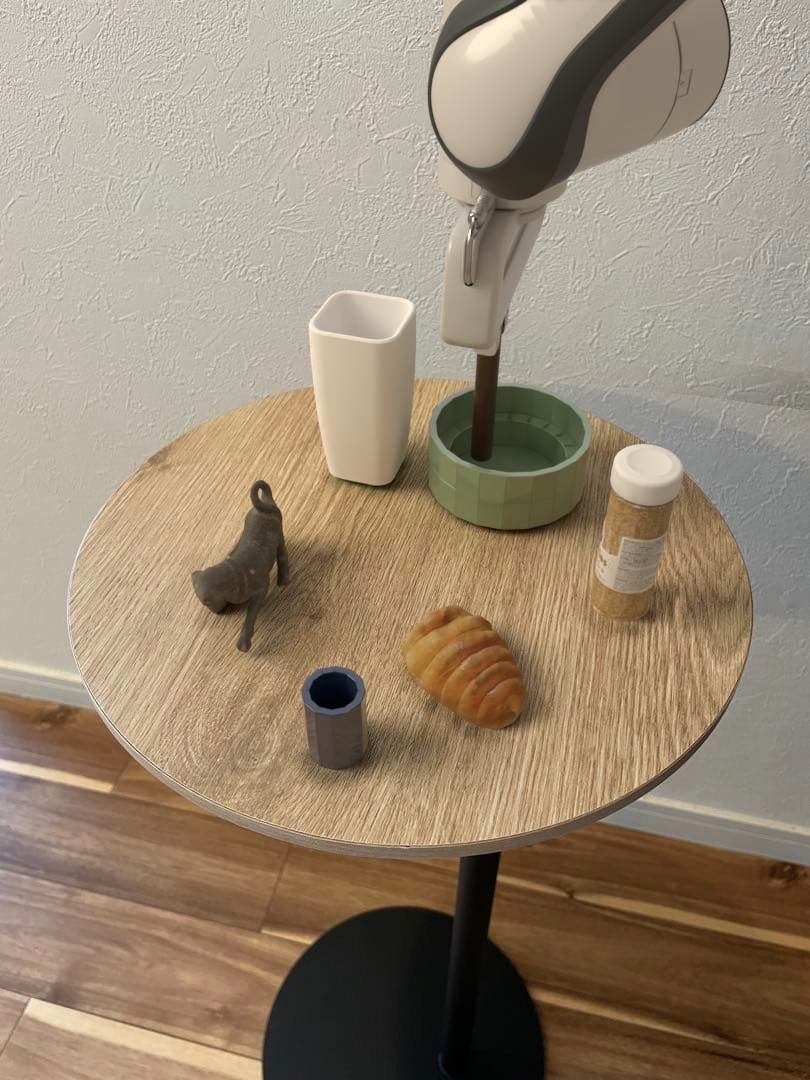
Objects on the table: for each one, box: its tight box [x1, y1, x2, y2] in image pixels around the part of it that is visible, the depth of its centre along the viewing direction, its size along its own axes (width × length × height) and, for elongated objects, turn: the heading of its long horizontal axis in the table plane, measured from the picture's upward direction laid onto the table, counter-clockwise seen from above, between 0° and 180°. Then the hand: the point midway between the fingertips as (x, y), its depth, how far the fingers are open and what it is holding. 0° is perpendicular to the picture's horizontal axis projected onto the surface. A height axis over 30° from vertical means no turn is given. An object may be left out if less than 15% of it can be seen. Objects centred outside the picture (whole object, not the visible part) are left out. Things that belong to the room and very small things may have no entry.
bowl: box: [427, 382, 594, 530], centre depth 81 cm, size 13×13×6 cm
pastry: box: [401, 604, 529, 730], centre depth 65 cm, size 9×7×4 cm
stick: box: [470, 322, 503, 462], centre depth 77 cm, size 2×2×14 cm
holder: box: [300, 665, 369, 770], centre depth 60 cm, size 4×4×6 cm
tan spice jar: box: [588, 443, 684, 623], centre depth 68 cm, size 5×5×14 cm
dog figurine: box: [190, 479, 290, 653], centre depth 70 cm, size 12×6×7 cm, turn 166°
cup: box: [308, 289, 417, 487], centre depth 80 cm, size 7×7×15 cm
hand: (490, 340), depth 74 cm, fingers closed on stick, 2 cm apart
